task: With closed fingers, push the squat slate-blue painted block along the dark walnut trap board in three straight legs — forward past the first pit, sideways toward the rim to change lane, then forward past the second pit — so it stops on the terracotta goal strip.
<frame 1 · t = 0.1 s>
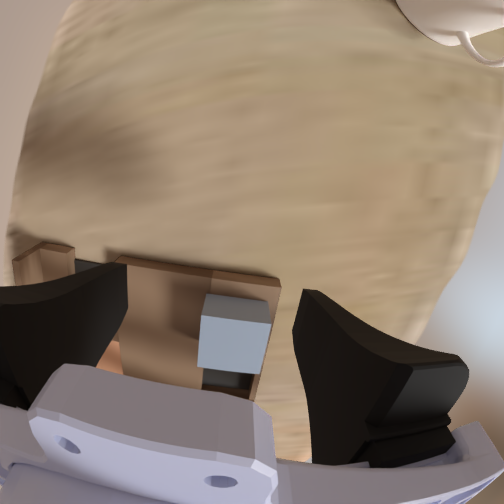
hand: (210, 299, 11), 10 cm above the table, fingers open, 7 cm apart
block: (233, 323, 22), point 1 cm above the table, touching trap board
mug: (432, 20, 15), on the table
trap board: (149, 329, 24), on the table
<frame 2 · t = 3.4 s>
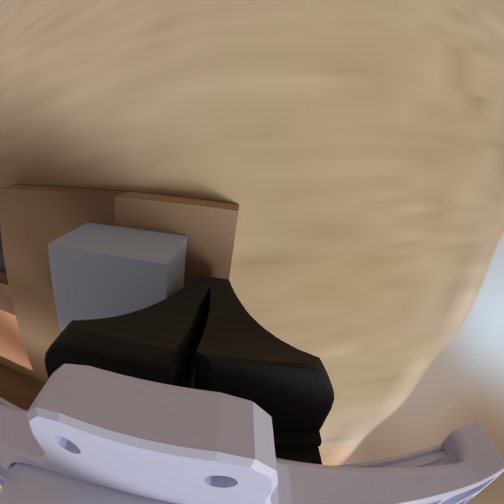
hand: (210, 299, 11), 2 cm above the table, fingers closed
block: (133, 279, 12), point 2 cm above the table, touching gripper
trap board: (53, 299, 14), on the table
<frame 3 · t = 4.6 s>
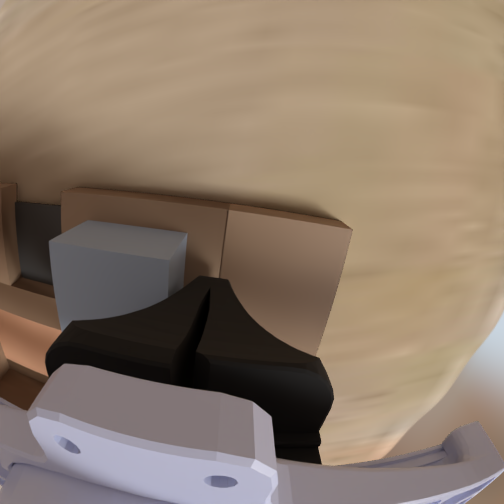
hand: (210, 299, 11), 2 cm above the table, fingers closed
block: (133, 276, 12), point 1 cm above the table, touching gripper, trap board
trap board: (122, 314, 14), on the table
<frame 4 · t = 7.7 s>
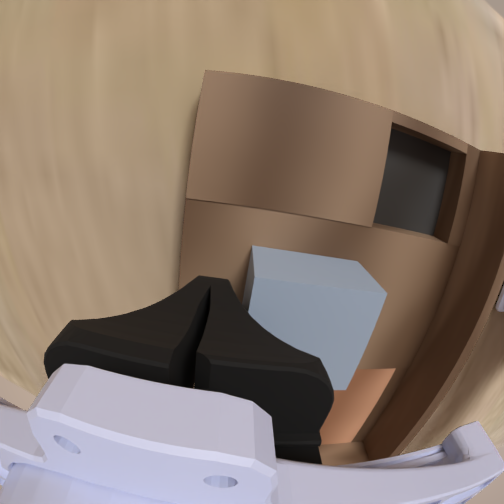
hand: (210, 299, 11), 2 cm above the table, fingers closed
block: (295, 302, 12), point 1 cm above the table, touching gripper
trap board: (314, 312, 14), on the table
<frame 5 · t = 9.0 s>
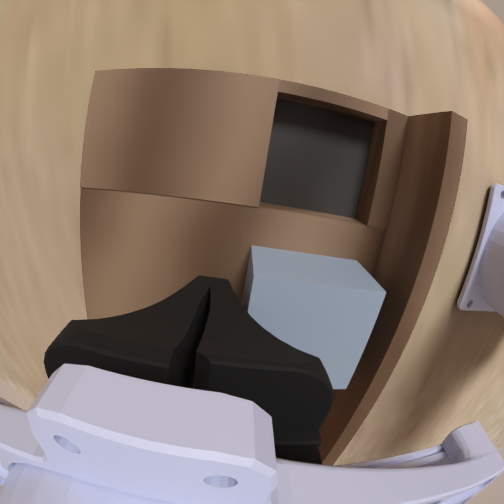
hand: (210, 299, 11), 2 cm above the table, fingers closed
block: (295, 302, 12), point 1 cm above the table, touching gripper, trap board
trap board: (219, 301, 14), on the table
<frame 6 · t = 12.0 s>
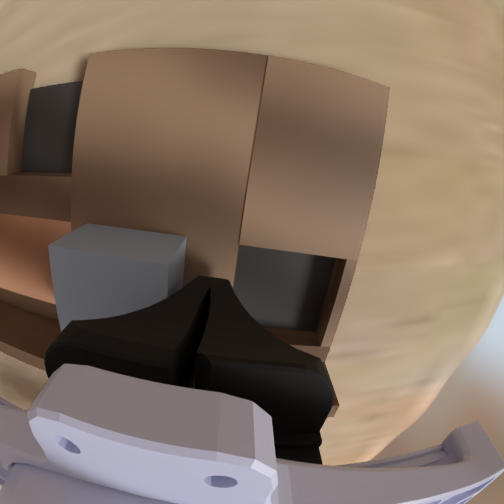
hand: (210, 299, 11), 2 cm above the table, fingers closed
block: (133, 279, 12), point 1 cm above the table, touching gripper
trap board: (132, 198, 12), on the table
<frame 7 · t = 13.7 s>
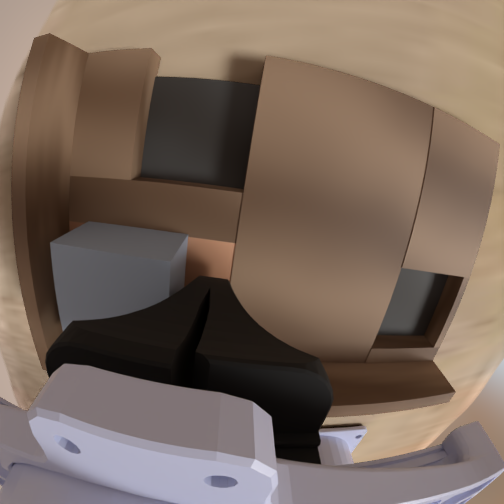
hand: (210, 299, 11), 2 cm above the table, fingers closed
block: (134, 277, 12), point 1 cm above the table, touching gripper, trap board
trap board: (296, 220, 13), on the table
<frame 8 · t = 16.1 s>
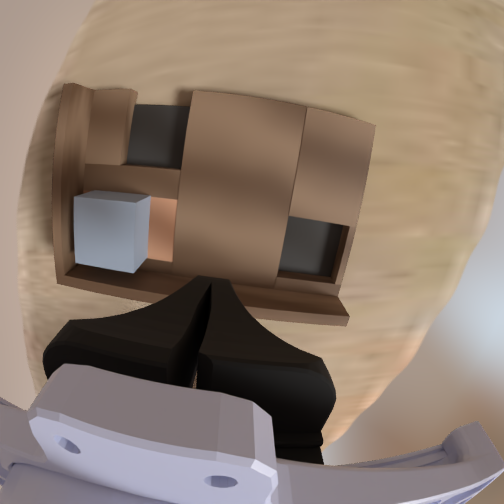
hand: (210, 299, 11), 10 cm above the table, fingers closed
block: (120, 223, 19), point 1 cm above the table, touching trap board
trap board: (218, 187, 20), on the table
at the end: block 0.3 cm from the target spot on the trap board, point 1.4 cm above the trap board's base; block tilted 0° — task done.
